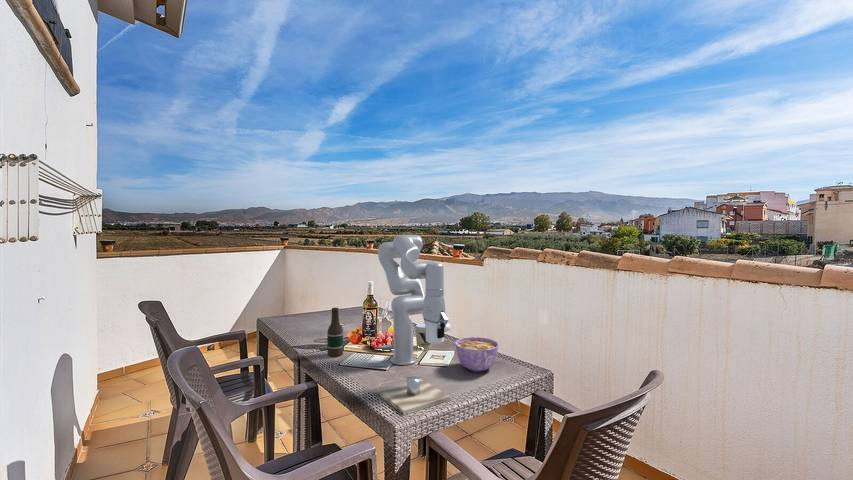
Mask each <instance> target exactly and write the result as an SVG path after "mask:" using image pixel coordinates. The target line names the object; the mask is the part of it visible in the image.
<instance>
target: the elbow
mask: <svg viewBox="0 0 853 480" xmlns="http://www.w3.org/2000/svg"><path fill="white" fill-rule="evenodd" d="M440 325H441V322H440ZM437 328H438V325H437V322H432V321H429V320H427V321H426V342H429V343H432V344H439V343H443V342H445V336H444V337H443V338H437ZM451 329H452V326H451V324H450V323H449V322H447V324H446V326H445V328H444V333H445V332H450V331H451Z"/></svg>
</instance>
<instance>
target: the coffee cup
mask: <svg viewBox="0 0 853 480" xmlns="http://www.w3.org/2000/svg"><path fill="white" fill-rule="evenodd" d="M415 338H416V347H417V346H419V347H423V348H424V350H425V351H426V350H430V349H431V348H432V344H433V343H429V342H426V333H425V322H424V323H417V324H416V325H415ZM424 350H423V351H424Z"/></svg>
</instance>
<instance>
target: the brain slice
mask: <svg viewBox="0 0 853 480" xmlns="http://www.w3.org/2000/svg"><path fill="white" fill-rule="evenodd" d="M367 345H368V346H369V347H371V346H370V342H369V341H368V342H367ZM374 348H377V349H382V350H391V349H394V344H392V345H384V346H379V347H374Z"/></svg>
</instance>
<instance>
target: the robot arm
mask: <svg viewBox="0 0 853 480" xmlns="http://www.w3.org/2000/svg"><path fill="white" fill-rule="evenodd" d="M423 245H424V243H423V239H422V238H421V236H420V235H418V234H398V235H397V236H395V237H394V238H393V240H392V241H388V242H387V241H386V242H382V243H381V244H379V246H378V248H377V249H378V250H377V256H378V260H379V263H380V265H381V266H382V267H381V268H382V269H383V271H384V273H385V276H386V280H387V284H388V287H389V291H390V293H391V295H393V296H396V297H394V298H393V299H392V300H391V305H390V306H391V307H390V308H391V311H392V312H391V313H392V320H393V339H394V350H392V351H391V352H392V353H393V356H392V357H390V360H389V361H390V363H391V364H393V365H397V366H409V365H413V364H415V363H416V362H417V356H415V355H414V324H413V321H412V320H411V319H410V317H409V316H414V315H420V314H421V315H422V318H423V320H424V323H425V333H426V321H427V320H429V321H432V322H437V325H438V328H437V338H443V337H444V338H445V332H444V328H445V326H446V324H447V323H449V318H448V317H447V316H446V315H447V314H446V303H445V302H446V301H445V297H444V296H445V295H444V293H445V291H444V280H445V279H444V277H445V276H444V271H445V270H444V267H445V266H444V265H443V263H441V262H436V261H434V260H421V261H420V260H419V261H418V259H419V258H420V256H421V250H422V249H423ZM395 259H400V264H399V263H398V261H396V260H395ZM424 279H425V280H424ZM421 280H424V281H425V286H424V287H425V290H424V289H423V286H422V283H421ZM424 291H425V292H424ZM440 322H441V325H440Z"/></svg>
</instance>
